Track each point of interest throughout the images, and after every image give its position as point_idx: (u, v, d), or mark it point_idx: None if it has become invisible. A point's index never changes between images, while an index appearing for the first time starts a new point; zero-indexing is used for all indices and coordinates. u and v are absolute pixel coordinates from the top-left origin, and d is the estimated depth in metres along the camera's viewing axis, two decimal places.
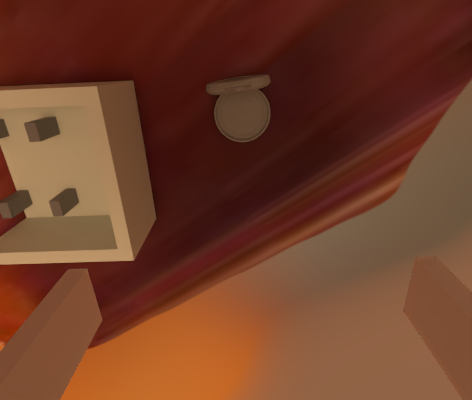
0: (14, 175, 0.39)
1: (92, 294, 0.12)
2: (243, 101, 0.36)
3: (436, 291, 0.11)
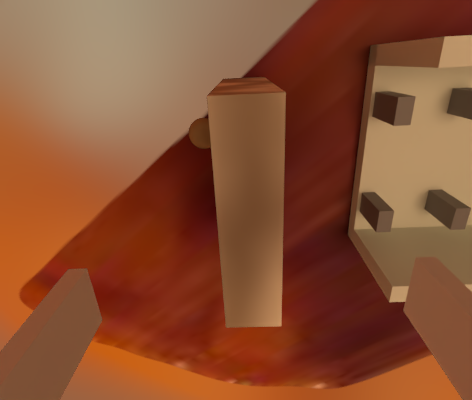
0: (366, 172, 0.28)
1: (92, 294, 0.12)
2: None
3: (436, 291, 0.11)
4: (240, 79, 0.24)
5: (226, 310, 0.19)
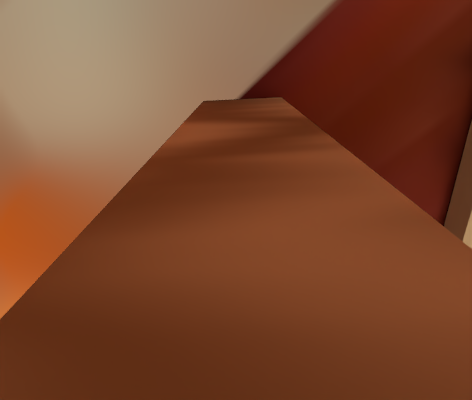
0: None
1: None
2: None
3: None
4: (236, 105, 0.12)
5: None
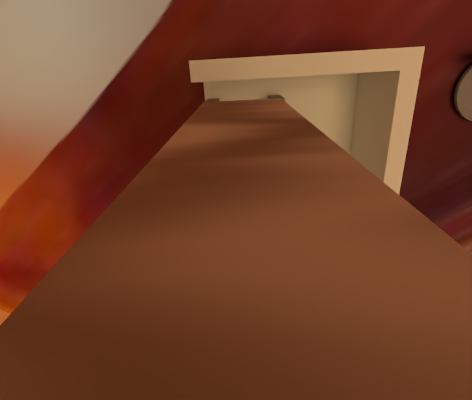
0: None
1: None
2: None
3: None
4: (236, 106, 0.12)
5: None
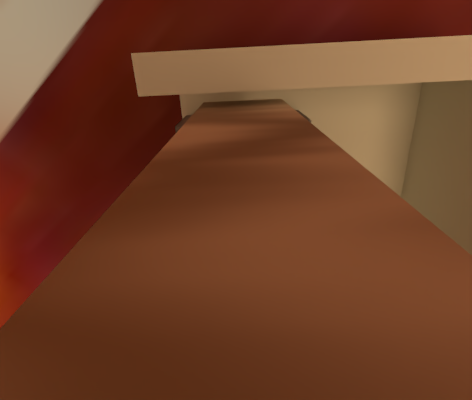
0: None
1: None
2: None
3: None
4: (236, 106, 0.12)
5: None
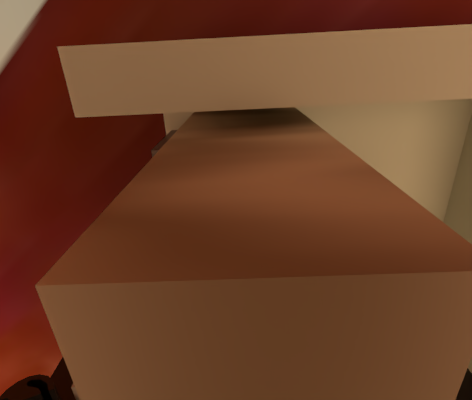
0: None
1: None
2: None
3: None
4: None
5: None
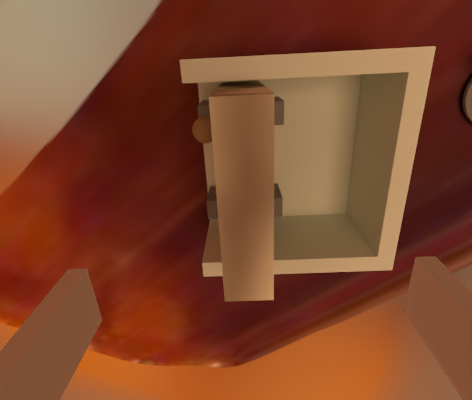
0: (209, 168, 0.33)
1: (92, 294, 0.12)
2: None
3: (436, 291, 0.11)
4: None
5: (225, 285, 0.21)
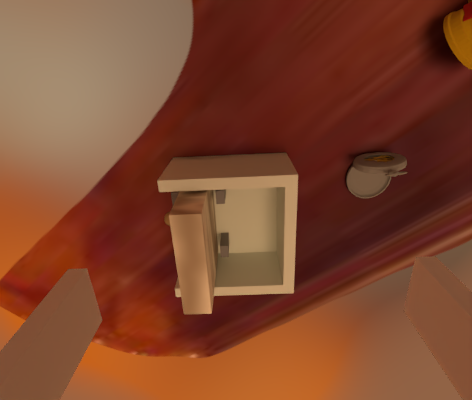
0: None
1: (92, 294, 0.12)
2: None
3: (436, 291, 0.11)
4: None
5: (183, 305, 0.38)
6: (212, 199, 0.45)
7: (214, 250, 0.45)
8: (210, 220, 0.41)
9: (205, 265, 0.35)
